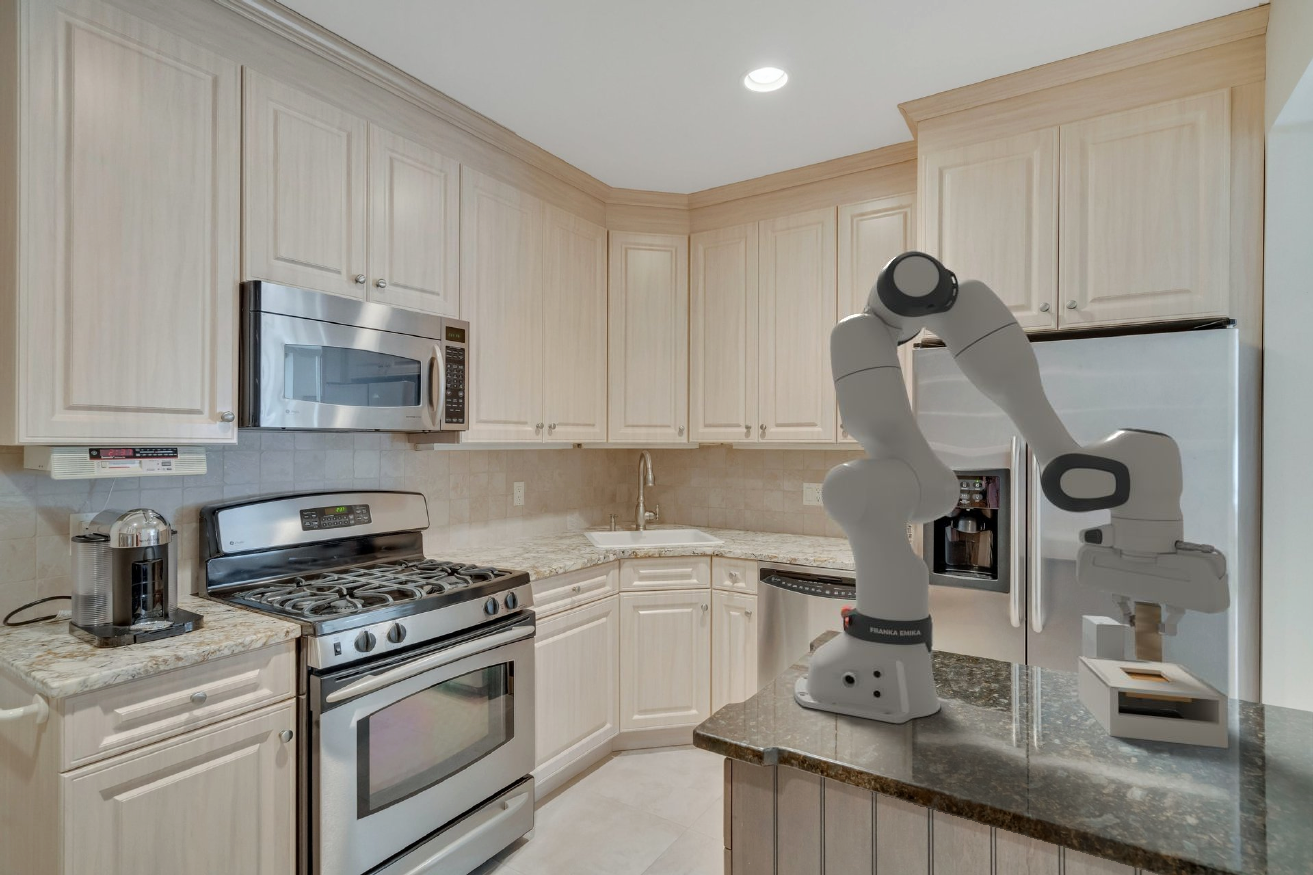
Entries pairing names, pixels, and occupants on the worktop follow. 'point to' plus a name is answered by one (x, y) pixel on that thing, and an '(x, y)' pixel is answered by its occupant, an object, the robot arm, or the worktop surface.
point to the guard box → (1104, 694)
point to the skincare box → (1102, 638)
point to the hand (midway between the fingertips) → (1147, 630)
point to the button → (1151, 697)
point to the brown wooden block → (1147, 631)
